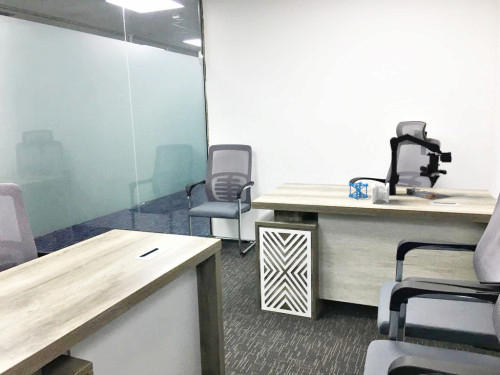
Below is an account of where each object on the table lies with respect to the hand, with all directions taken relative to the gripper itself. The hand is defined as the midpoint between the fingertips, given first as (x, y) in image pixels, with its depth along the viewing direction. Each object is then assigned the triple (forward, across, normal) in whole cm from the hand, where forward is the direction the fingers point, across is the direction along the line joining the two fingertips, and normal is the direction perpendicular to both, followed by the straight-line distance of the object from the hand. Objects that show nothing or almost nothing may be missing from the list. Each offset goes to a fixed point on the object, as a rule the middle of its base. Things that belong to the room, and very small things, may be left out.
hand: (432, 185), depth 270 cm
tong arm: (+7, +5, -1) cm, 8 cm away
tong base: (+7, +7, -3) cm, 10 cm away
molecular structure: (+7, +41, -25) cm, 49 cm away
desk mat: (+7, +1, -3) cm, 8 cm away
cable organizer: (+7, +39, -6) cm, 40 cm away
